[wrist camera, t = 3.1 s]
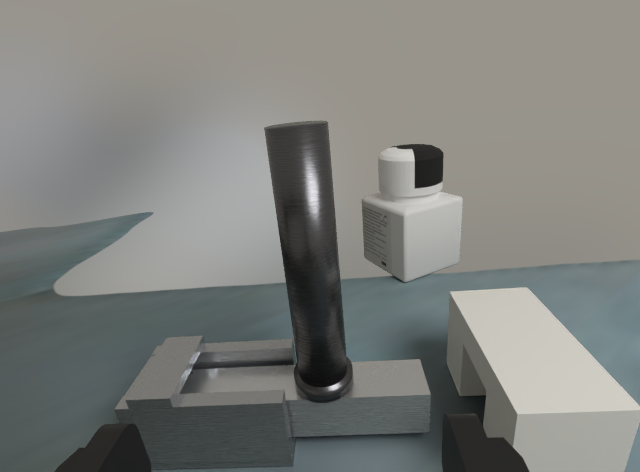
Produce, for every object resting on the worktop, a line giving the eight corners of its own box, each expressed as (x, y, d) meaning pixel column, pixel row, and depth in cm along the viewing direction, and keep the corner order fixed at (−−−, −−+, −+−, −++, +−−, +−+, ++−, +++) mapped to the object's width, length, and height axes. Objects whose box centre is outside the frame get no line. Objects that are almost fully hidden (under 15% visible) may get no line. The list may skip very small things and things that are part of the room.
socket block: (504, 507, 18) (517, 414, 16) (446, 363, 27) (449, 291, 25) (613, 505, 17) (643, 410, 15) (517, 360, 27) (527, 287, 25)
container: (414, 242, 48) (414, 138, 43) (460, 264, 41) (467, 144, 36) (363, 258, 45) (357, 148, 40) (404, 284, 38) (404, 157, 33)
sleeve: (137, 470, 21) (110, 400, 19) (174, 399, 26) (155, 338, 24) (292, 465, 21) (280, 393, 19) (300, 394, 26) (291, 331, 24)
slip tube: (161, 445, 22) (58, 150, 15) (183, 400, 25) (105, 139, 19) (430, 437, 21) (440, 115, 14) (418, 390, 24) (421, 110, 18)
